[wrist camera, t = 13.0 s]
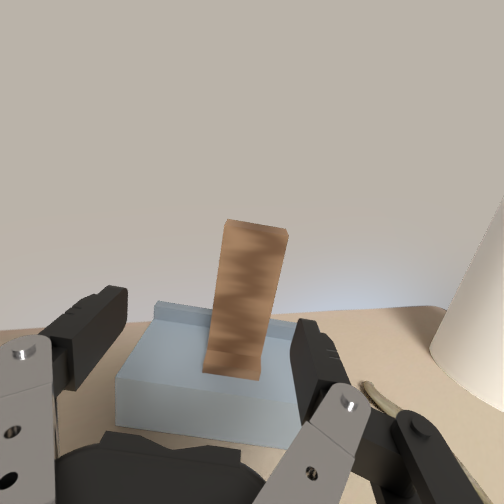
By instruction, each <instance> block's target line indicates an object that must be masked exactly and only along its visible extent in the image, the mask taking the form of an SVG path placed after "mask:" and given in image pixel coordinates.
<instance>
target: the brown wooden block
mask: <svg viewBox="0 0 504 504" xmlns="http://www.w3.org/2000/svg"><path fill="white" fill-rule="evenodd" d="M288 237H289V235H288V233H287V231H286V229H283V228H277V227H271V226H265V225H260V224H254V223H249V222H243V221H237V220H231V219H227V221H226V223H225V225H224V233H223V240H222V246H221V253H220V260H219V268H218V275H217V282H216V289H215V297H214V304H213V310H212V317H211V324H210V332H209V339H208V346H207V351H206V355H205V359H204V363H203V370H202V373H208V374H214V375H221V376H228V377H235V378H241V379H248V380H255V381H259V378H260V374H261V355H262V351H263V346H264V342H265V337H266V333H267V329H268V324H269V320H270V316H271V311H272V307H273V303H274V298H275V294H276V290H277V285H278V281H279V277H280V272H281V267H282V263H283V259H284V254H285V250H286V246H287V242H288Z"/></svg>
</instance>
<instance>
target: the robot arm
mask: <svg viewBox="0 0 504 504" xmlns="http://www.w3.org/2000/svg"><path fill="white" fill-rule="evenodd" d="M127 302H128V291H127V289H126V288H123V287H117V286H111V285H108V286H107V287H105V288H104V289H103V290H102V291H101V292H100V293H98V294H92V295H90V296H87V297H85V298H83V299H81V300H79V301H78V302H77V303H76V304H75V305H73V306H72V308H70V309H68V310H67V311H66V312H65V314H62V315H61V316H60V317H59V318H57V319H56V320H55V321H54V322H52V323H51V324H50V325H49V326H47V327H46V328H45V329H44V330H42V331H41V332H40V333H39V334H37V335H27V336H22V337H19V338H15V339H13V340H11V341H9V342H7V343H5V344H3V345H2V346H1V347H0V504H339V501H340V499H341V496H342V493H343V491H344V488H345V485H346V482H347V480H348V477H349V474H350V472H353V473H355V474H357V475H359V476H361V477H363V478H365V479H367V480H369V481H370V483H371V486H372V490H373V493H374V496H375V500H376V503H377V504H484V503H483V501H482V500H481V498H480V496H479V495H478V493H477V492H476V490H475V488H474V487H473V485H472V483H471V482H470V480H469V479H468V477H467V475H466V474H465V472H464V471H463V469H462V467H461V466H460V464H459V462H458V461H457V459H456V458H455V456H454V454H453V453H452V451H451V450H450V448H449V446H448V445H447V443H446V441H445V440H444V438H443V437H442V435H441V433H440V432H439V431H438V429H437V428H436V427H435V426H434V425H433V424H432V423H431V422H430V421H429V420H427V419H426V418H425V417H423V416H421V415H420V414H418V413H416V412H413V411H410V410H401V411H399V412H398V414H397V415H396V417H395V418H394V417H392V416H389V415H387V414H385V413H382V412H380V411H378V410H376V409H374V408H372V407H370V403H369V401H368V400H367V398H366V397H365V396H364V395H363V393H362V392H360V391H359V390H358V389H356V388H355V387H353V386H351V383H350V381H349V378H348V376H347V374H346V371H345V369H344V367H343V364H342V362H341V360H340V357H339V355H338V352H337V350H336V348H335V345H334V343H333V341H332V340H331V339H330V338H329V337H328V336H327V335H326V334H325V333H320V331H319V328H318V325H317V323H316V321H313V320H308V319H302V318H299V320H298V322H297V325H296V329H295V332H294V335H293V339H292V342H291V346H290V363H291V369H292V375H293V381H294V386H295V392H296V398H297V404H298V410H299V416H300V422H301V426H302V428H301V429H300V431H299V432H298V434H297V435H296V437H295V439H294V440H293V442H292V443H291V445H290V446H289V448H288V449H287V451H286V452H285V454H284V455H283V457H282V459H281V460H280V462H279V463H278V465H277V466H276V468H275V469H274V471H273V472H272V474H271V475H270V477H269V479H268V480H267V482H266V481H265V480H264V479H263V478H262V477H261V476H260V475H259V474H258V473H256V472H255V471H254V470H253V469H251V468H250V467H248V466H247V465H245V464H243V463H241V462H240V457H241V450H238V449H231V448H224V447H217V446H210V445H207V446H199V447H192V448H185V449H177V450H170V449H168V448H166V447H163V446H161V445H159V444H157V443H155V442H153V441H151V440H148V439H146V438H144V437H142V436H140V435H133V434H126V433H118V432H111V431H106V432H105V434H104V435H103V437H102V439H101V441H100V443H97V444H92V445H88V446H84V447H81V448H78V449H76V450H73V451H71V452H69V453H67V454H65V455H63V456H61V457H60V446H59V427H58V407H57V396H58V395H59V394H60V393H61V392H62V390H69V391H76V390H77V389H78V388H79V386H80V385H81V384H82V383H83V381H84V380H85V379H86V377H87V376H88V375H89V373H90V372H91V371H92V370H93V368H94V367H95V366H96V364H97V363H98V362H99V361H100V359H101V358H102V357H103V355H104V354H105V353H106V351H107V350H108V349H109V348H110V346H111V345H112V344H113V342H114V341H115V340H116V338H117V337H118V336H119V335H120V333H121V332H122V331H123V329H124V327H125V324H126V321H127V307H128V303H127Z"/></svg>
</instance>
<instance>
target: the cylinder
mask: <svg viewBox="0 0 504 504" xmlns="http://www.w3.org/2000/svg"><path fill="white" fill-rule="evenodd" d="M429 350H430V353H431V356H432V358H433V359H434V361H435V362H436V364H437V365H438V366H439V367H440V368H441V369H442V370H443V371H444V372H445V373H446V374H447V375H448V376H449V377H450V378H451V379H452V380H454V381H455V382H456V383H457V384H459V385H460V386H461V387H462V388H464V389H465V390H467V391H468V392H470V393H471V394H473V395H474V396H476V397H477V398H479V399H480V400H482V401H483V402H485V403H487V404H489V405H491V406H493V407H494V408H496V409H498V410H500V411H502V412H504V196H503V198H502V201H501V203H500V205H499V207H498V209H497V211H496V213H495V215H494V217H493V219H492V221H491V223H490V225H489V227H488V229H487V231H486V233H485V235H484V237H483V239H482V241H481V243H480V245H479V247H478V249H477V251H476V253H475V255H474V257H473V260H472V261H471V263H470V265H469V267H468V269H467V272H466V273H465V276H464V277H463V279H462V282H461V283H460V285H459V287H458V290H457V292H456V294H455V296H454V298H453V300H452V302H451V304H450V306H449V308H448V310H447V312H446V314H445V316H444V318H443V320H442V322H441V324H440V326H439V328H438V330H437V332H436V334H435V336H434V338H433V340H432V342H431V344H430V347H429Z"/></svg>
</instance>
